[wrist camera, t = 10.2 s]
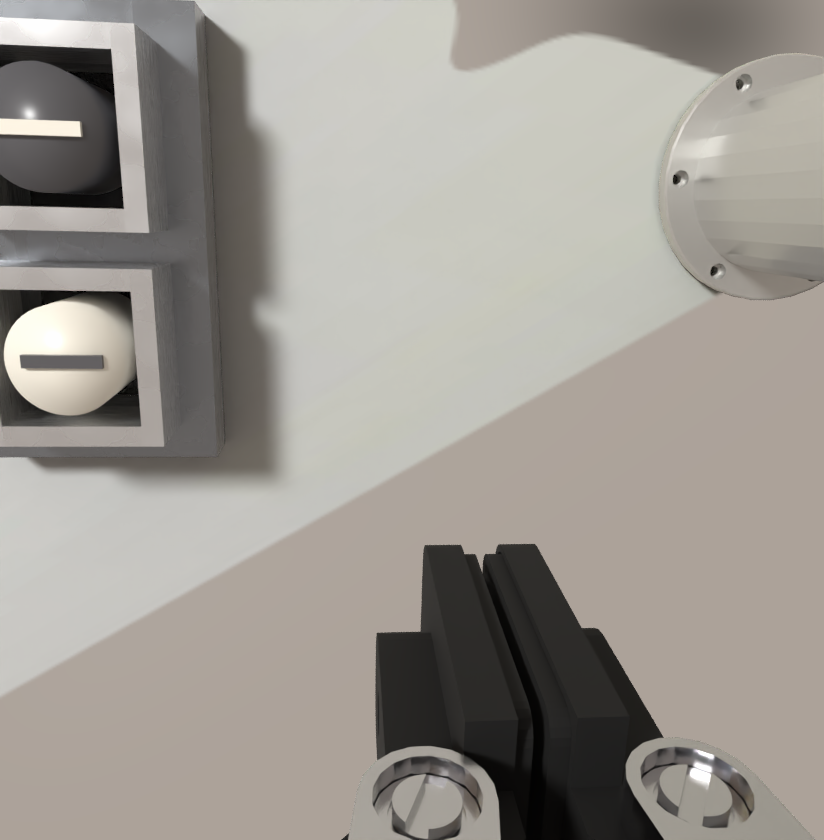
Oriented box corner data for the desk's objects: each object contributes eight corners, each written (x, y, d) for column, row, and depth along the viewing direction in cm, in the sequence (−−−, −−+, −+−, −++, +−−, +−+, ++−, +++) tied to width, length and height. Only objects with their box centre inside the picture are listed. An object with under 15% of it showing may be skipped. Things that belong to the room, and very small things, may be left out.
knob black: (136, 86, 36) (94, 62, 30) (144, 196, 38) (105, 194, 32) (26, 81, 36) (-39, 56, 30) (39, 193, 37) (-21, 190, 31)
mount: (204, 14, 36) (175, -24, 30) (225, 442, 42) (204, 481, 36) (-53, 2, 35) (-136, -40, 29) (6, 442, 41) (-52, 482, 35)
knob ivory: (151, 290, 39) (115, 306, 33) (158, 386, 40) (124, 417, 34) (49, 289, 39) (-6, 304, 33) (60, 385, 40) (9, 416, 34)
